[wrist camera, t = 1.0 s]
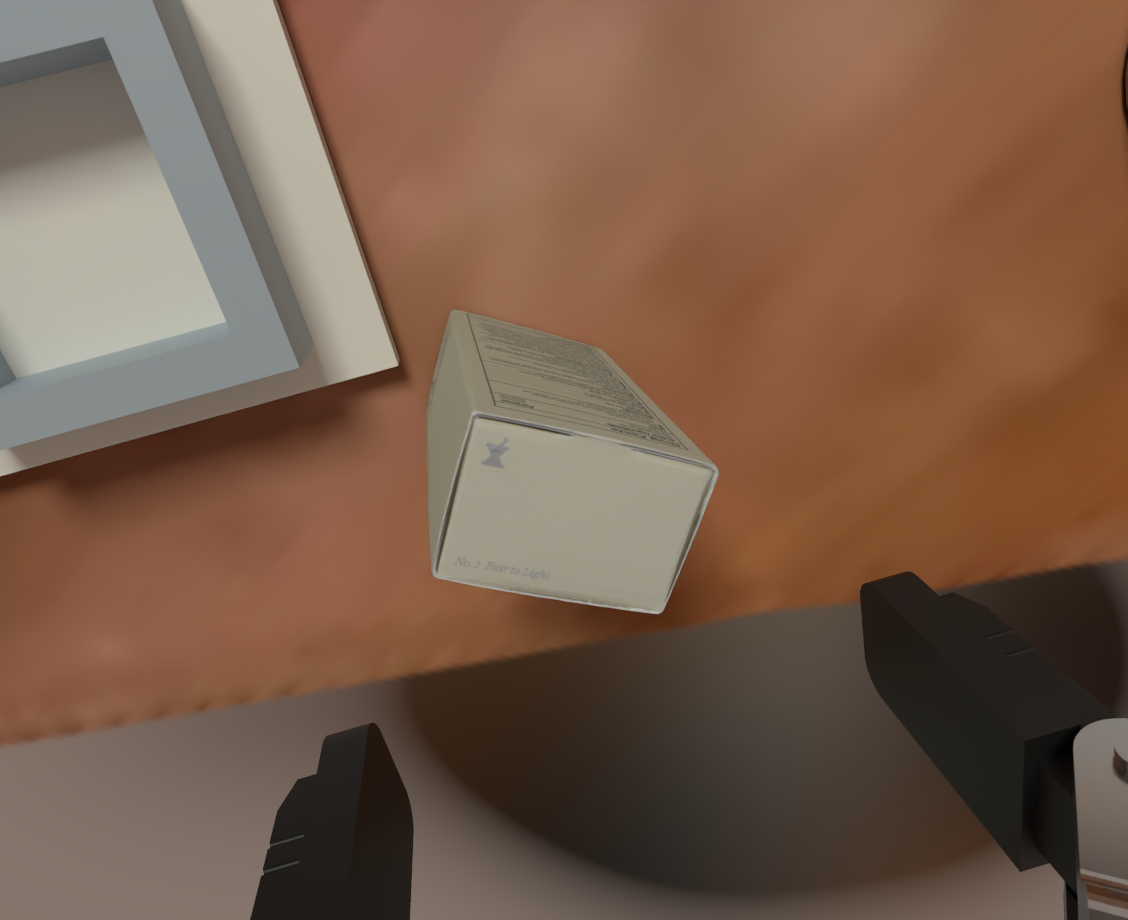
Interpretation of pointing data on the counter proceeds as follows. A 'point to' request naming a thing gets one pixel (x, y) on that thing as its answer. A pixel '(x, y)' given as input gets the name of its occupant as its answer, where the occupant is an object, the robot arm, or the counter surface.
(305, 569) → the counter surface
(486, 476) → the skincare box
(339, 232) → the collar block
